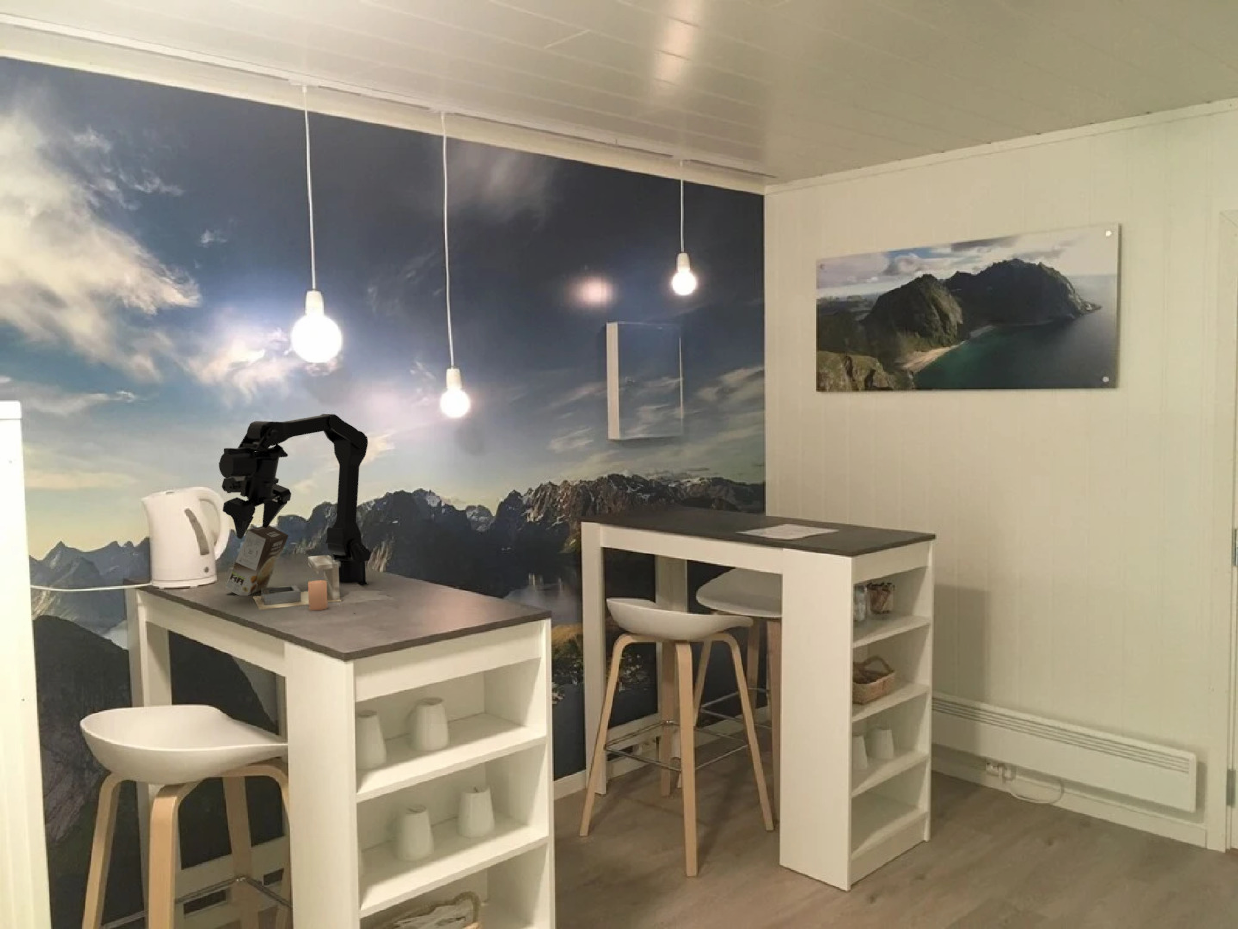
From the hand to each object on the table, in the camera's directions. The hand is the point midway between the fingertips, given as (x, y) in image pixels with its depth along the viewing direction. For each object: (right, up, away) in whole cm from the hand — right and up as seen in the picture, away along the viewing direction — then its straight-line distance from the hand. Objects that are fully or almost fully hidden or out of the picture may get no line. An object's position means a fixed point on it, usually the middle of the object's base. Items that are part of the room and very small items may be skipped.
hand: (252, 532), depth 235 cm
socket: (+9, -16, -6) cm, 19 cm away
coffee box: (-4, -15, +5) cm, 16 cm away
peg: (+20, -17, -14) cm, 30 cm away
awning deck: (+12, -16, -4) cm, 21 cm away
